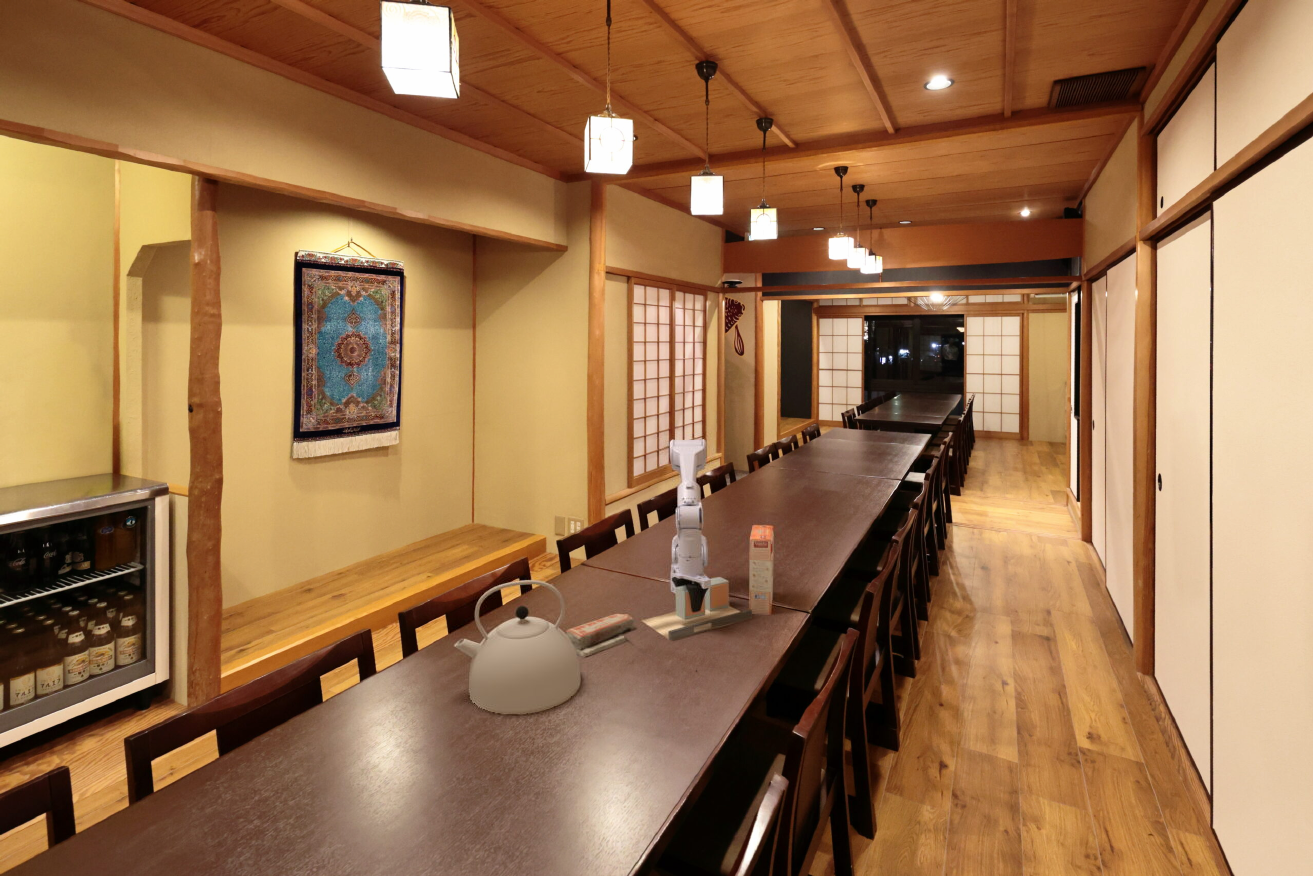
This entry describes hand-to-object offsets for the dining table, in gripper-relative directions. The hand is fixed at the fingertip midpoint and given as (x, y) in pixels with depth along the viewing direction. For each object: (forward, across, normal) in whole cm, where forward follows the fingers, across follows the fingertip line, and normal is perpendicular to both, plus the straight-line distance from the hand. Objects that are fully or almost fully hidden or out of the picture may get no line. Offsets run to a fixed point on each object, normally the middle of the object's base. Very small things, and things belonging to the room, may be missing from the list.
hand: (690, 608), depth 164 cm
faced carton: (+4, -6, +12) cm, 14 cm away
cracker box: (+6, -1, +23) cm, 24 cm away
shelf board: (+5, -2, +3) cm, 6 cm away
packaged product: (+6, -7, -21) cm, 23 cm away
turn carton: (+2, 0, 0) cm, 2 cm away
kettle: (+6, +4, -45) cm, 46 cm away
